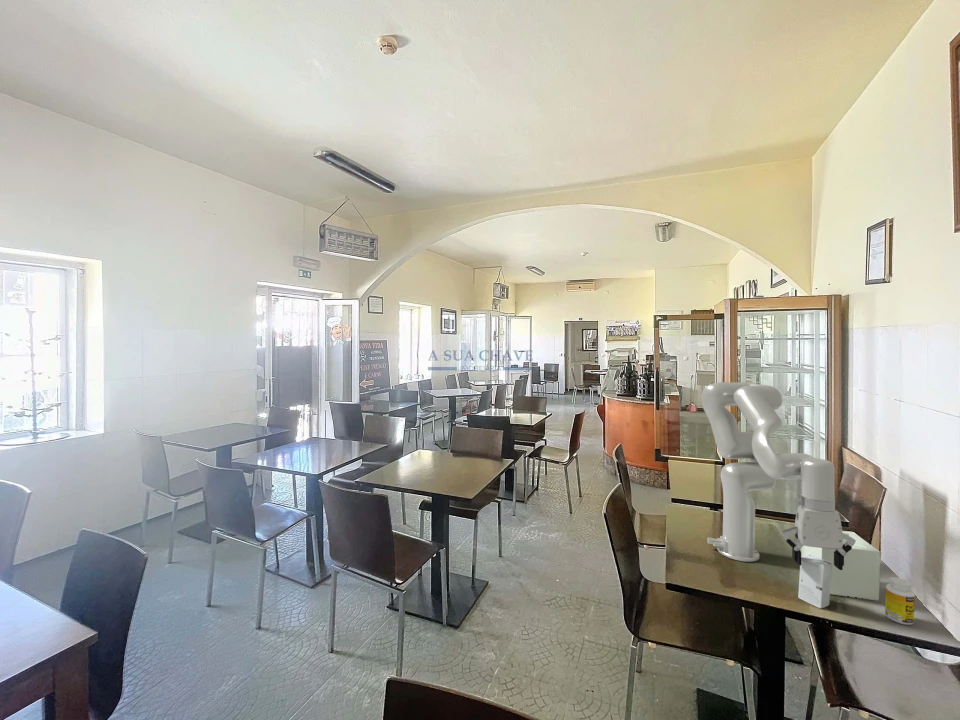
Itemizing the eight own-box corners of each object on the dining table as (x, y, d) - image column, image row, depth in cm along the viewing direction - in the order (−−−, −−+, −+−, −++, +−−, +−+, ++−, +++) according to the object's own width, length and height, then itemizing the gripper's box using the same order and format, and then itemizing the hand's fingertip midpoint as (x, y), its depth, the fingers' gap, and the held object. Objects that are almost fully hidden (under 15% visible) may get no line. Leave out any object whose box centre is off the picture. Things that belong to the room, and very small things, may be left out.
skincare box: (797, 598, 125) (798, 556, 125) (806, 594, 127) (807, 553, 127) (822, 609, 120) (823, 565, 119) (831, 605, 122) (832, 562, 121)
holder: (820, 592, 128) (822, 545, 128) (800, 570, 142) (801, 526, 141) (878, 600, 124) (880, 551, 124) (851, 576, 138) (853, 532, 138)
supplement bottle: (907, 628, 112) (908, 588, 112) (880, 616, 117) (881, 578, 117) (918, 623, 114) (919, 584, 114) (891, 611, 119) (892, 574, 119)
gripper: (787, 505, 121) (787, 567, 121) (862, 511, 117) (862, 576, 117) (776, 497, 129) (776, 556, 128) (847, 502, 124) (847, 563, 124)
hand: (817, 565), depth 123 cm, fingers open, 9 cm apart
